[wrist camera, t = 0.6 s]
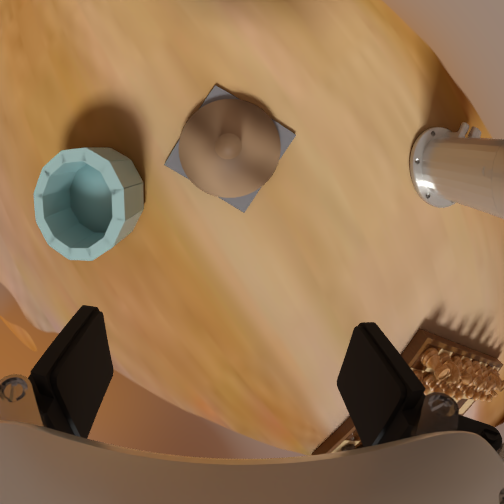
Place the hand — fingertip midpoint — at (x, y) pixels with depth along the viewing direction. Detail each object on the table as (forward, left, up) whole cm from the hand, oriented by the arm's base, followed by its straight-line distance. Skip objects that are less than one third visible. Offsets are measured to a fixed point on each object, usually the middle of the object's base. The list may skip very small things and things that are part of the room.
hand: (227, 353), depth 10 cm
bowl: (+8, -16, -29) cm, 34 cm away
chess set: (+17, +63, -30) cm, 71 cm away
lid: (-6, -4, -29) cm, 30 cm away
